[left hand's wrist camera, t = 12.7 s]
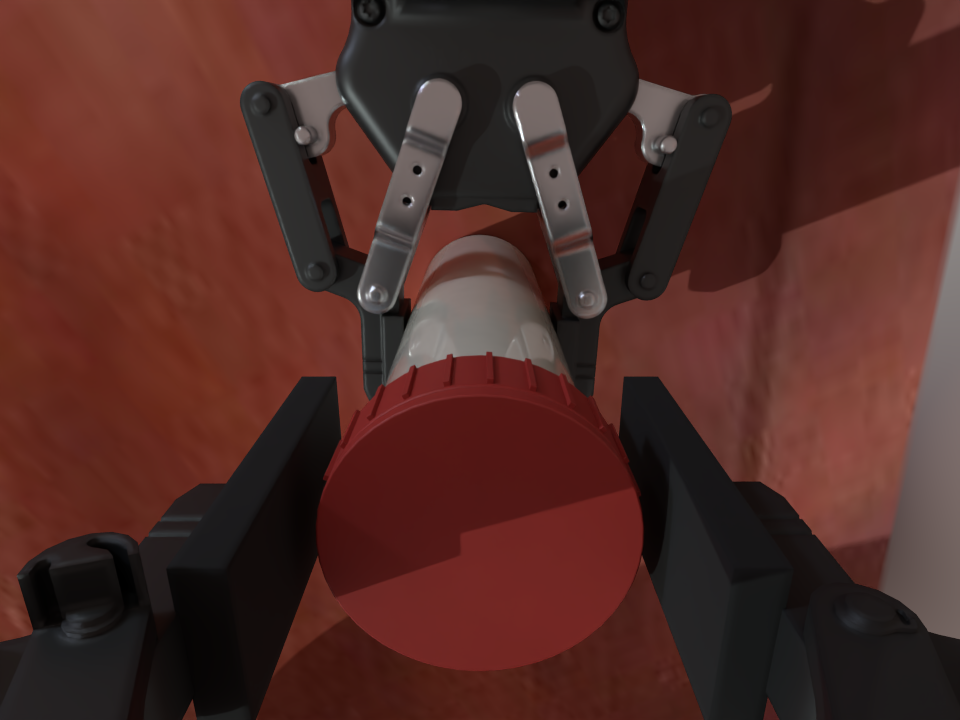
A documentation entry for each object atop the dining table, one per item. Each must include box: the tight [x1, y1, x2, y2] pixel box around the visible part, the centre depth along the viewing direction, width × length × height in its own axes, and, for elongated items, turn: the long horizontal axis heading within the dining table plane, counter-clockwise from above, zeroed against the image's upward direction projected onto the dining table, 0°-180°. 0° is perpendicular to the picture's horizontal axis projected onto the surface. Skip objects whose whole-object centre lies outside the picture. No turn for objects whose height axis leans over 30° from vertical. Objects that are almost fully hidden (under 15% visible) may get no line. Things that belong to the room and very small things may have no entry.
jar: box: [384, 235, 576, 387], centre depth 19 cm, size 5×5×17 cm
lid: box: [316, 352, 644, 671], centre depth 11 cm, size 6×6×2 cm
